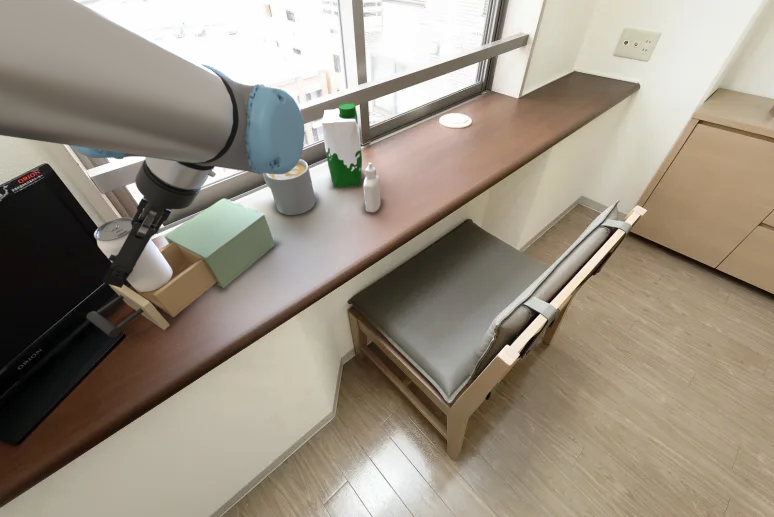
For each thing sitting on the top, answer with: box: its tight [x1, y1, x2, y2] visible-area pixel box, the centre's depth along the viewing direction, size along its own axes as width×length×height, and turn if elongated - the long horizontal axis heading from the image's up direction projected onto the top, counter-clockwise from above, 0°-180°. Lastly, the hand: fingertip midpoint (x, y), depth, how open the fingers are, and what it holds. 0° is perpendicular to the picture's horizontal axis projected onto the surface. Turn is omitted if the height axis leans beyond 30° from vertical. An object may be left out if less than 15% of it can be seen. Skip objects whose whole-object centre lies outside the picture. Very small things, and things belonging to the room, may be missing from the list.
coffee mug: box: [262, 158, 317, 216], centre depth 85 cm, size 13×10×10 cm
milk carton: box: [321, 102, 363, 188], centre depth 87 cm, size 9×9×20 cm
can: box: [93, 216, 173, 292], centre depth 57 cm, size 6×6×12 cm
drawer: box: [86, 242, 218, 338], centre depth 62 cm, size 19×11×7 cm, turn 149°
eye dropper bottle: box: [363, 162, 382, 213], centre depth 81 cm, size 4×6×12 cm
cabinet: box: [163, 197, 276, 289], centre depth 71 cm, size 15×13×9 cm
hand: (121, 267), depth 58 cm, fingers closed on can, 6 cm apart
